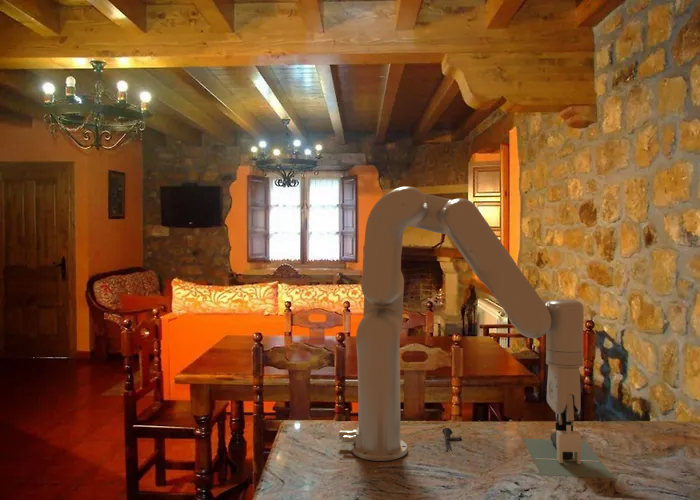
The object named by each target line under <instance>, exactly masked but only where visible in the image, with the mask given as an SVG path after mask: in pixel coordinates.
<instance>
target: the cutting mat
mask: <svg viewBox="0 0 700 500" xmlns="http://www.w3.org/2000/svg"><path fill="white" fill-rule="evenodd" d="M522 440H523V442H524V444H525V446H526V449H527V450H528V452H529V454H530V457H531V459H532V460H533V462H534V465H535V466H536V468H537V471H538V473H539V474H540V476H550V477H551V476H555V477H578V478H595V479H596V478H598V479H599V478H601V479H615V476H614V475H613V474H612V473H611V471H610V470H609V468H607V466H606V465H605V464H604V462H602V460H601V459H600V458H599V456H598V455H597V454H596V452H594V450H593V449H592V448H591V446H590V445H589V444H588V442H587V441H586V440H581V464H577V462H576V461H575V459H574V452H573V457H572V459H570V460H564V459H563V463H559V461H558V460H557V449H556V447H555V445H554V444H553V442H552V441H551V439H547V438H546V439H543V438H522Z"/></svg>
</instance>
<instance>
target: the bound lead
mask: <svg viewBox="0 0 700 500" xmlns="http://www.w3.org/2000/svg"><path fill="white" fill-rule="evenodd" d="M549 438H550V440H551V441H552V442H553V444H554V445H555V447H556V431H555V432H553V433H551V434H550V437H549ZM556 449H557V448H556ZM572 457H573V452H563V459H564V460H570V459H572Z"/></svg>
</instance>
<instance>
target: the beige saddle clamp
mask: <svg viewBox="0 0 700 500" xmlns="http://www.w3.org/2000/svg"><path fill="white" fill-rule="evenodd" d="M555 432H556V448H557V460H558V461H559V463H563V452H574V459H575V461H576V462H577V464H581V441H582V435H581V433H580V432H579V431H578V430H573V431H571V425H566V431H559V430H556V429H555Z"/></svg>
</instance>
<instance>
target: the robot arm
mask: <svg viewBox="0 0 700 500" xmlns="http://www.w3.org/2000/svg"><path fill="white" fill-rule="evenodd" d="M407 227H411V228H414V229H420V230H423V231H427V232H428V231H429V232H433V233H438V234H443V235H447V236H448V237H449V238H450V240H451V242H452V243H453V245H454V246H455V248H457V250H458V251H459V253H460V254H461V256H462V257H463V259H464V260H465V262H466V263H467V264H468V266H469V268H470V269H471V271H472V272H473V273H474V275H475V276H476V277H477V278H478V280H479V281H480V282H481V283H482V284H483V285H484V286H485V287H486V288H487V289H488V290H489V292H490V293H491V294H492V296H493V297H494V299H496V301H497V302H498V304H499V305H500V307H501V308H502V310H503V311H504V312H505V314H506V315H507V317H508V320H509V322H510V324H511V325H512V326H513V328H515V329H516V331H517V332H518V333H519V334H520V335H522V336H524V337H526V338H529V339H537V338H542V337H543V336H545V364H546V365H548V367H547V383H546V384H547V385H546V402H547V404H548V405H549V407H550V408H551V409H552V411H553V412H554V413H555V431H556V430H559V431H566V425H571V431H574V421H575V415H579V414H580V412H581V376H580V368H582V367H584V328H585V327H584V323H585V322H584V320H585V319H584V316H585V315H584V312H585V311H584V306H583V303H582V302H581V301H578V300H574V299H565V298H563V299H562V298H561V299H559V298H558V299H551V300H550V299H549V300H548V299H542V298H541V296H540V295H539V294H538V293H537V291H536V290H535V289H534V287H533V285H532V284H531V283H530V281H529V279H527V277H526V276H525V273H523V272H522V270H521V269H520V268H519V265H517V262H515V260H514V258H513V256H511V254H510V253H509V252H508V250H507V249H506V247H505V246H504V244H503V242H502V241H501V239H500V238H499V237H498V235H496V233H495V231H494V230H493V228H492V227H491V226H490V224H489V223H488V221H487V220H486V219H485V217H484V216H483V215H482V213H481V212H480V210H479V209H478V207H477V206H476V205H475V204H474V202H472V201H471V200H469V199H466V198H460V197H459V198H454V199H452V198H448V197H447V198H446V197H442V196H436V195H433V194H429V193H425V192H424V193H423V192H422V191H421V189H418V188H417V187H413V186H400V187H397V188H395V189H393V190H392V191H391V190H390V191H389V192H388V193H386V194H385V195H383V196H382V197H380V198H379V200H378V201H377V202H375V204H374V205H373V207H372V209H371V210H370V211H369V214H368V216H367V220H366V225H365V232H364V244H363V258H362V273H361V279H360V288H361V292H362V295H363V313H362V315H363V317H362V318H361V320H360V322H359V323H358V325H357V329H356V337H355V345H356V357H357V359H356V360H357V389H358V391H357V398H358V399H357V400H358V402H357V404H358V406H357V407H358V409H357V410H358V411H357V412H358V413H357V414H358V415H357V416H358V423H357V424H358V425H357V429H355V428H354V429H353V430H345V429H343V430H342V429H340V430H339V432H338V438H339V439H340V440H342V442H343V443H352V444H351V452H352V454H353V455H355V456H356V457H357V458H359V459H363V460H366V461H367V460H368V461H374V462H388V461H395V460H397V459H400V458H403V457H404V456H405V455H406V454H407V453H408V444H407V443H406V442H405V441H404V440H402V439H401V356H400V355H401V353H400V352H401V351H400V350H401V348H400V343H401V334H402V329H403V314H404V313H403V312H404V311H403V310H404V291H405V280H404V275H403V272H402V251H403V239H404V238H403V236H404V232H405V231H406V229H407ZM574 414H575V415H574Z"/></svg>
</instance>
